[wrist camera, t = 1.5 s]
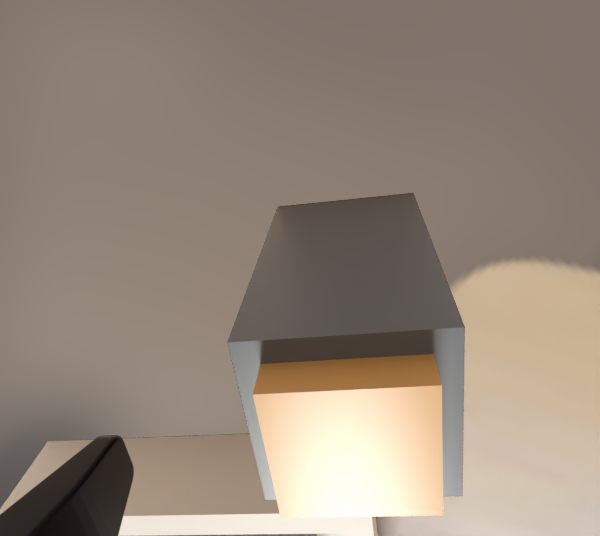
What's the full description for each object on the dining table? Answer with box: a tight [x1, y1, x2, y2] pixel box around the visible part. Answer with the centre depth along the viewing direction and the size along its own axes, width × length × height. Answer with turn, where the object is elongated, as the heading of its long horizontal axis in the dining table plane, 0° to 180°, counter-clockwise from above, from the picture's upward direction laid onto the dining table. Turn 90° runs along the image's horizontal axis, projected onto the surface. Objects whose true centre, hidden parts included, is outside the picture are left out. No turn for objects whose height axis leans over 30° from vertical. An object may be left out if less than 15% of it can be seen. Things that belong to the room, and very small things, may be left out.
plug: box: [227, 193, 465, 518], centre depth 12 cm, size 4×4×8 cm
